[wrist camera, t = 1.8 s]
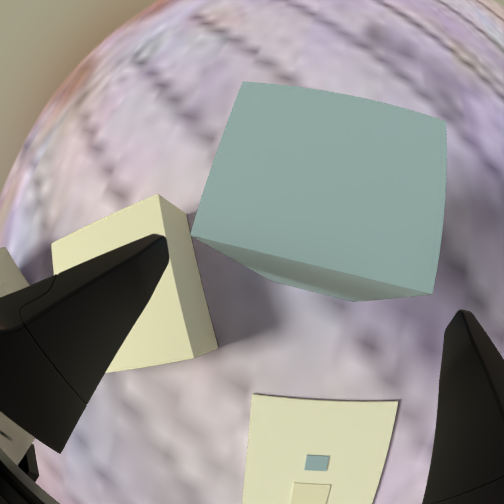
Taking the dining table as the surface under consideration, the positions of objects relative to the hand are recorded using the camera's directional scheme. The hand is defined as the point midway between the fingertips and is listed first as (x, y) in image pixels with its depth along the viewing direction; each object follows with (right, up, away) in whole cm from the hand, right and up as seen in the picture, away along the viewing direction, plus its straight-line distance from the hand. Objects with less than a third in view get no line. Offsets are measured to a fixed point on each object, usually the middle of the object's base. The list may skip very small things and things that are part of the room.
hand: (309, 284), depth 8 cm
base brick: (-9, -2, +12) cm, 15 cm away
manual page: (+2, -14, +7) cm, 16 cm away
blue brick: (+3, 0, +10) cm, 10 cm away
